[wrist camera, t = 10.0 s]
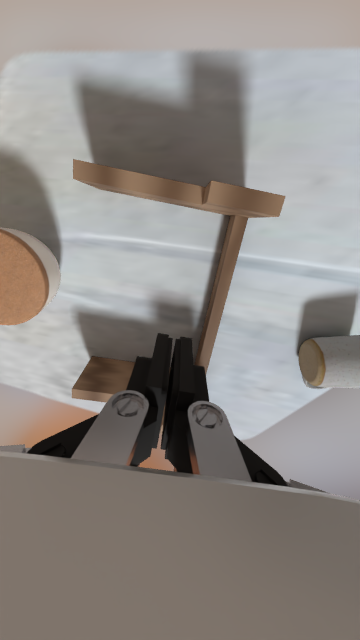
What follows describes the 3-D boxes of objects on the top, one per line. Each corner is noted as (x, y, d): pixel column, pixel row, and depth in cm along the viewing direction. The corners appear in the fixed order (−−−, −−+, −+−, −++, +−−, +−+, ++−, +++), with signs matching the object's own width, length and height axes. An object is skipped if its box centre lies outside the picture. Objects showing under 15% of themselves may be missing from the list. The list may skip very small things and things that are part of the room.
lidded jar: (-25, 240, 31) (-103, 248, 22) (48, 212, 30) (-5, 209, 21) (21, 313, 35) (-30, 343, 26) (87, 290, 34) (56, 315, 25)
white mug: (298, 329, 37) (327, 357, 30) (351, 326, 36) (393, 352, 29) (290, 384, 41) (313, 419, 34) (337, 381, 41) (371, 416, 34)
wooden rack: (244, 205, 30) (285, 196, 19) (199, 379, 40) (208, 440, 29) (100, 175, 28) (51, 146, 17) (91, 363, 38) (57, 421, 27)
